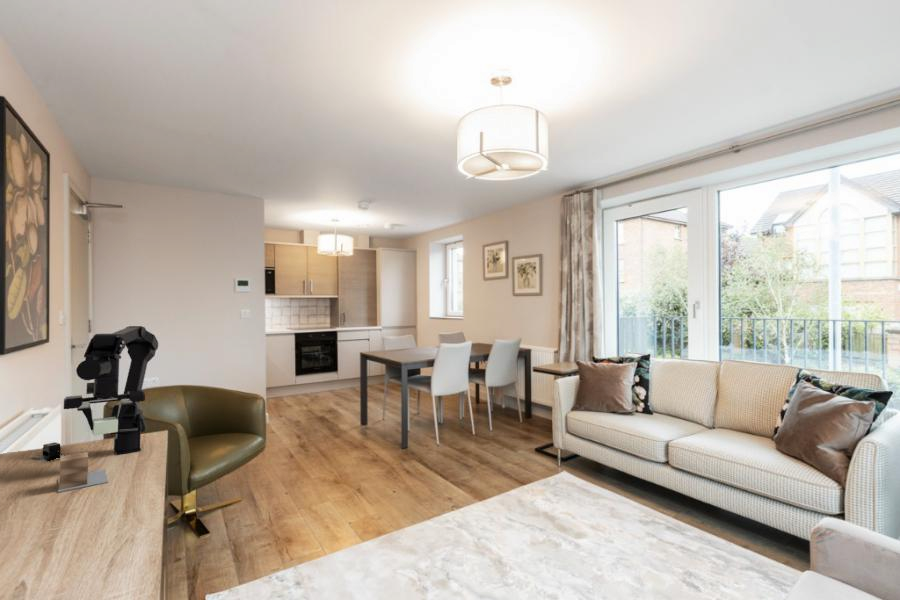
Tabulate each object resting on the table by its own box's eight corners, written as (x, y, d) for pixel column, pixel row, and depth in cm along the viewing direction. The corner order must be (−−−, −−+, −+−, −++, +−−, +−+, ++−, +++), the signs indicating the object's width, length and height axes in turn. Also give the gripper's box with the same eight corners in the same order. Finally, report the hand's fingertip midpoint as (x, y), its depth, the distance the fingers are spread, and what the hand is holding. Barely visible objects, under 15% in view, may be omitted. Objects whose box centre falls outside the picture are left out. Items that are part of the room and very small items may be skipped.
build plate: (74, 458, 136) (75, 444, 136) (45, 465, 129) (46, 450, 130) (55, 452, 141) (56, 438, 142) (26, 459, 135) (26, 444, 135)
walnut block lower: (86, 478, 117) (86, 465, 117) (87, 484, 113) (87, 470, 113) (59, 483, 114) (59, 469, 114) (59, 489, 109) (59, 475, 110)
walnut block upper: (86, 465, 117) (87, 451, 118) (87, 470, 113) (88, 456, 113) (59, 469, 114) (60, 456, 114) (59, 475, 110) (60, 461, 110)
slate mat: (104, 470, 124) (104, 469, 124) (108, 482, 115) (108, 481, 115) (58, 479, 117) (58, 478, 117) (57, 492, 108) (57, 491, 108)
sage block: (114, 428, 131) (115, 416, 131) (117, 431, 127) (118, 419, 127) (91, 431, 127) (92, 419, 127) (93, 435, 123) (94, 422, 123)
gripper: (141, 370, 140) (139, 418, 139) (64, 375, 127) (62, 428, 127) (146, 373, 132) (144, 424, 131) (64, 379, 119) (62, 436, 119)
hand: (104, 428), depth 127 cm, fingers closed on sage block, 6 cm apart
